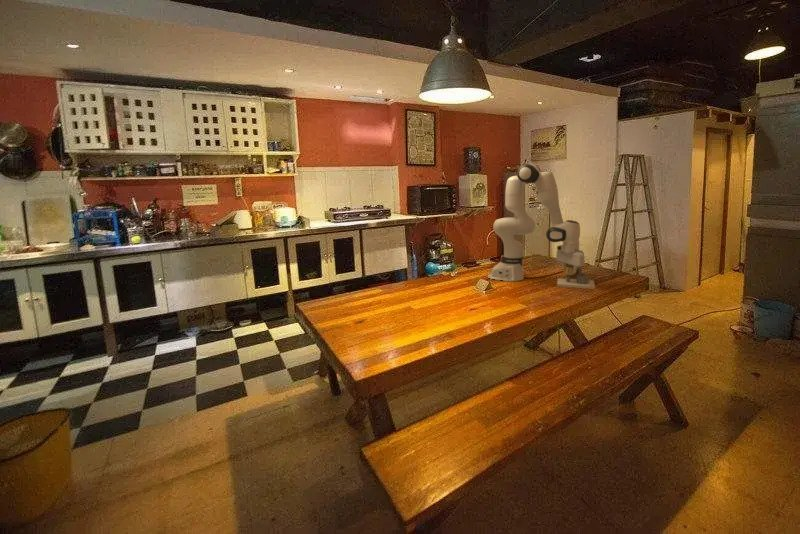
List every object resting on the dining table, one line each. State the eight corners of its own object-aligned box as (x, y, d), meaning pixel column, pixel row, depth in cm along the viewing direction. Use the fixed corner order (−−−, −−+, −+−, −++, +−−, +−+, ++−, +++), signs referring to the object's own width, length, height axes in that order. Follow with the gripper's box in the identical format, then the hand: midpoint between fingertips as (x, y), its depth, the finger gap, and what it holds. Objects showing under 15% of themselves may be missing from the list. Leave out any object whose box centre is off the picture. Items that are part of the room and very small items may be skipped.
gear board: (557, 286, 233) (557, 274, 231) (557, 280, 244) (558, 269, 243) (594, 288, 225) (595, 277, 223) (593, 282, 237) (594, 271, 235)
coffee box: (564, 277, 251) (566, 252, 247) (566, 275, 256) (568, 250, 252) (580, 278, 246) (582, 253, 242) (581, 276, 251) (583, 251, 248)
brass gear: (565, 275, 231) (565, 267, 230) (562, 272, 238) (562, 265, 237) (577, 275, 231) (577, 267, 230) (573, 272, 237) (573, 265, 236)
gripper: (588, 250, 222) (586, 274, 225) (563, 245, 241) (562, 267, 244) (579, 251, 220) (577, 275, 223) (554, 246, 239) (553, 268, 242)
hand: (569, 271), depth 234 cm, fingers closed on brass gear, 6 cm apart
